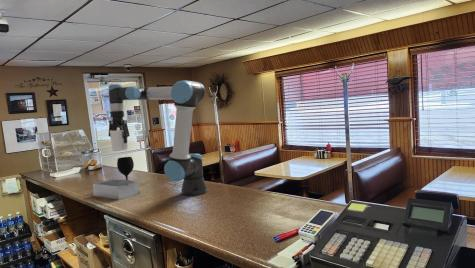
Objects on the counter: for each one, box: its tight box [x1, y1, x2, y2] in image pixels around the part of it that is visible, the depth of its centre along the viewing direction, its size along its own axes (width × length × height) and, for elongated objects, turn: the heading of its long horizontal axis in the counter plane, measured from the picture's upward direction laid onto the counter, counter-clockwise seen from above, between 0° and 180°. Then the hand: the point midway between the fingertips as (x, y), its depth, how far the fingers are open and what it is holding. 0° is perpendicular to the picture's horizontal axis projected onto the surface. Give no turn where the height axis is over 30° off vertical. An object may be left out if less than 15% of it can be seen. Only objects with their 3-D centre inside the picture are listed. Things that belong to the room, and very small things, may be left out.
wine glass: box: [116, 156, 135, 180], centre depth 217 cm, size 10×10×20 cm
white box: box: [109, 129, 128, 152], centre depth 194 cm, size 10×10×12 cm
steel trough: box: [92, 178, 141, 201], centre depth 198 cm, size 24×15×8 cm, turn 57°
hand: (119, 148), depth 195 cm, fingers closed on white box, 9 cm apart
